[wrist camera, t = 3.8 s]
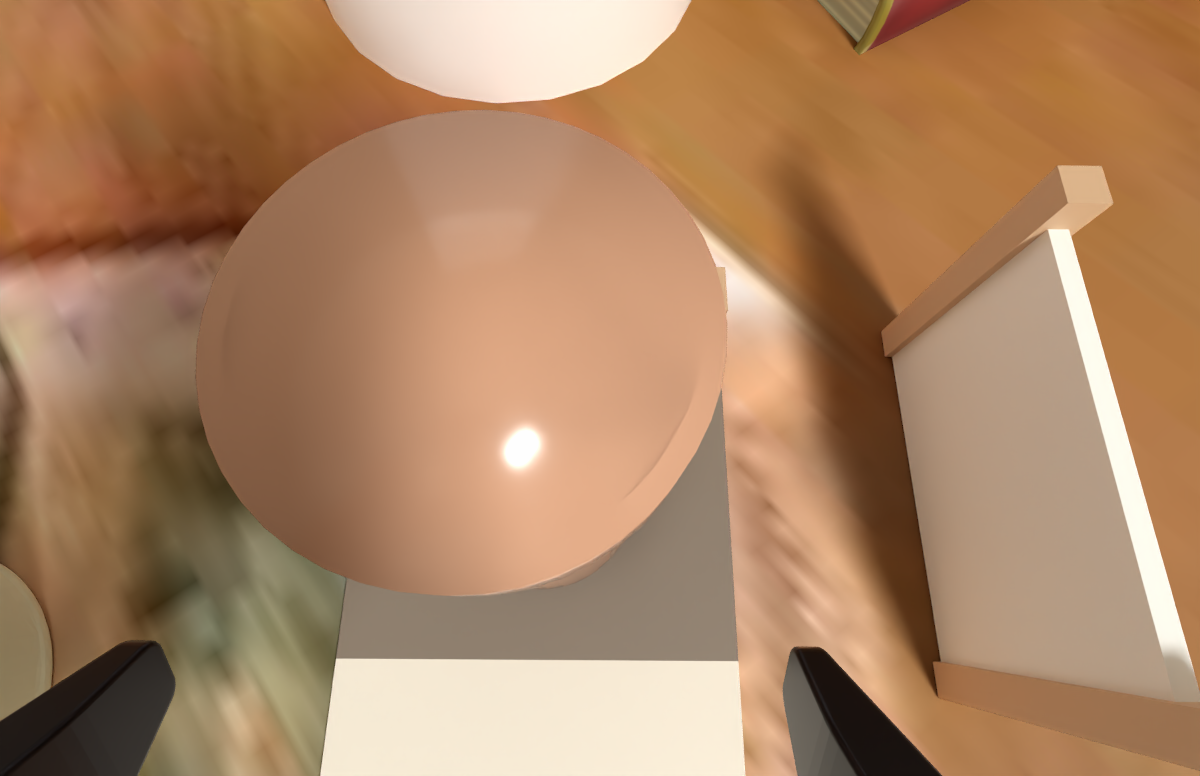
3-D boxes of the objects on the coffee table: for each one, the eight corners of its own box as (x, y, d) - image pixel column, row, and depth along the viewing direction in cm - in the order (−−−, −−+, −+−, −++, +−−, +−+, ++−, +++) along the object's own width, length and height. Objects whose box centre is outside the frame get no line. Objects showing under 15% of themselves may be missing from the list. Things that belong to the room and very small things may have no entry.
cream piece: (1031, 1043, 16) (1540, 1558, 7) (288, 1042, 16) (-73, 1564, 7) (902, 297, 23) (1086, 116, 14) (388, 291, 23) (266, 105, 14)
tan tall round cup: (477, 633, 19) (253, 695, 6) (417, 436, 21) (158, 191, 8) (677, 551, 19) (822, 466, 7) (601, 369, 21) (612, 58, 9)
